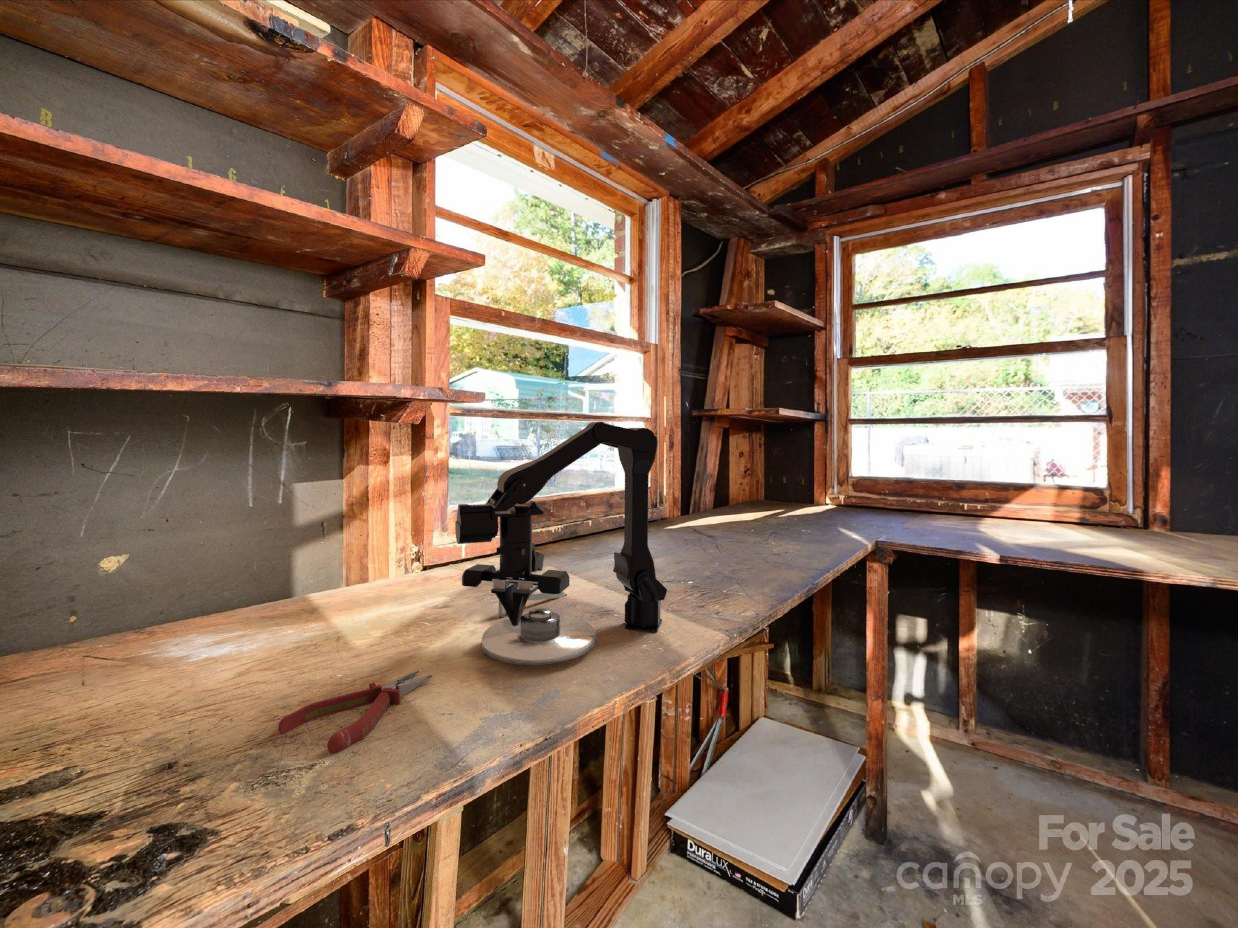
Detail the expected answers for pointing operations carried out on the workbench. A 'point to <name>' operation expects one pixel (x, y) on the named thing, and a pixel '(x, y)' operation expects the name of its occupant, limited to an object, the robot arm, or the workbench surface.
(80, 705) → the workbench surface
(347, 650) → the workbench surface
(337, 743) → the pliers
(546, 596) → the caliper
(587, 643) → the turntable
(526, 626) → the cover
